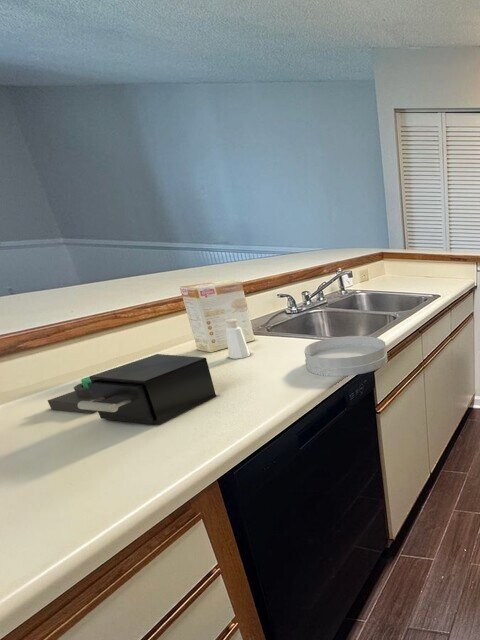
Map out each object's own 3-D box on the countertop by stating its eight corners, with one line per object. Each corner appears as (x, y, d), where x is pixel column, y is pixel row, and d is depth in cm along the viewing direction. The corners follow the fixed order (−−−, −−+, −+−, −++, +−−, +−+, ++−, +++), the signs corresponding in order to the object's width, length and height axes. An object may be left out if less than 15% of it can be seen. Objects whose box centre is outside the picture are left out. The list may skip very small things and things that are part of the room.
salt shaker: (236, 352, 128) (228, 317, 124) (254, 353, 128) (246, 317, 124) (224, 358, 123) (215, 321, 119) (243, 359, 123) (234, 322, 119)
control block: (51, 409, 90) (43, 392, 89) (108, 388, 101) (103, 373, 100) (91, 413, 89) (84, 396, 88) (144, 391, 100) (139, 376, 99)
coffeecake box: (241, 337, 143) (227, 279, 136) (256, 340, 140) (243, 281, 133) (195, 349, 130) (178, 285, 123) (211, 352, 128) (194, 287, 120)
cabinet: (159, 425, 85) (144, 381, 81) (105, 419, 87) (88, 376, 83) (216, 396, 98) (206, 357, 95) (169, 392, 100) (157, 353, 96)
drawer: (128, 433, 80) (114, 396, 77) (77, 428, 81) (61, 391, 78) (205, 396, 96) (196, 364, 93) (161, 392, 98) (151, 361, 95)
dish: (371, 378, 111) (369, 360, 109) (290, 374, 112) (286, 356, 110) (397, 352, 132) (396, 337, 130) (329, 349, 133) (326, 334, 131)
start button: (79, 387, 92) (76, 380, 92) (96, 381, 96) (93, 374, 95) (93, 389, 92) (90, 381, 91) (110, 383, 95) (107, 375, 95)
